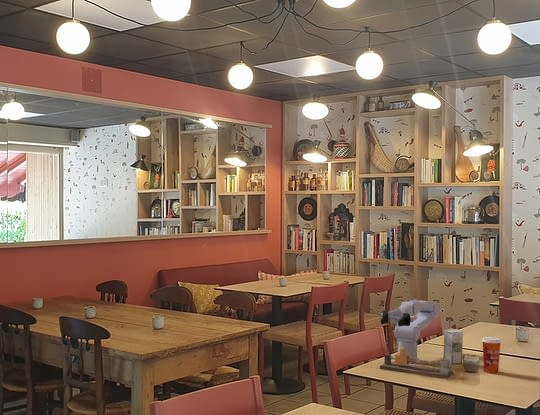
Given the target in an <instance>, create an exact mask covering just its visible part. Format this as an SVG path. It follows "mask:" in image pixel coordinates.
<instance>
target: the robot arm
mask: <svg viewBox="0 0 540 415" xmlns="http://www.w3.org/2000/svg"><path fill="white" fill-rule="evenodd" d="M439 314H440V304H439V303H438V302H435V301H429V300H418V299H416V298H414V299H411V300H409V301H405V300H404V301H402V302H401V304H400V306H399V307H395V309H394V310H391V311H388V310H383V311H382V312H381V313H380V325H385V324H387V325H388V324H389V322H393V323H394V324H396V325H395V328H394V336H395V338H396V341H398V349H397V350H398V351H397V352H398V353H400V349H401V348H405V354H410V358H411V359H418V360H420V358H418V343H417V341H418V340H419V338H420V336H421V331H422V330H424V329H426V328H427V327H429V325H430V324H431V322H432V321H433V320H435V319H436V318H438V317H439ZM415 317H416V318H415ZM413 363H414V362H410V364H413Z"/></svg>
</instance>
